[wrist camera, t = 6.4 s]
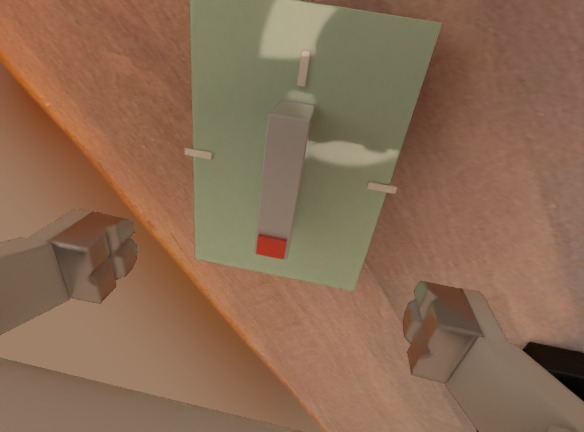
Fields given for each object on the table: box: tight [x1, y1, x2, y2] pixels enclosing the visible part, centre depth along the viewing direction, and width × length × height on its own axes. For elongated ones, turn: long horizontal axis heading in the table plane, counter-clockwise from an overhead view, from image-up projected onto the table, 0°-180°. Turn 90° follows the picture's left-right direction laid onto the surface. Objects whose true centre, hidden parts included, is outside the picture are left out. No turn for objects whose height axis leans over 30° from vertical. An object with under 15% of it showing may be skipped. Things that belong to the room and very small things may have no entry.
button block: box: [476, 343, 584, 432], centre depth 23 cm, size 10×8×4 cm
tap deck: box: [185, 0, 442, 291], centre depth 17 cm, size 14×11×3 cm
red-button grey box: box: [254, 100, 316, 260], centre depth 14 cm, size 6×2×3 cm, turn 172°
